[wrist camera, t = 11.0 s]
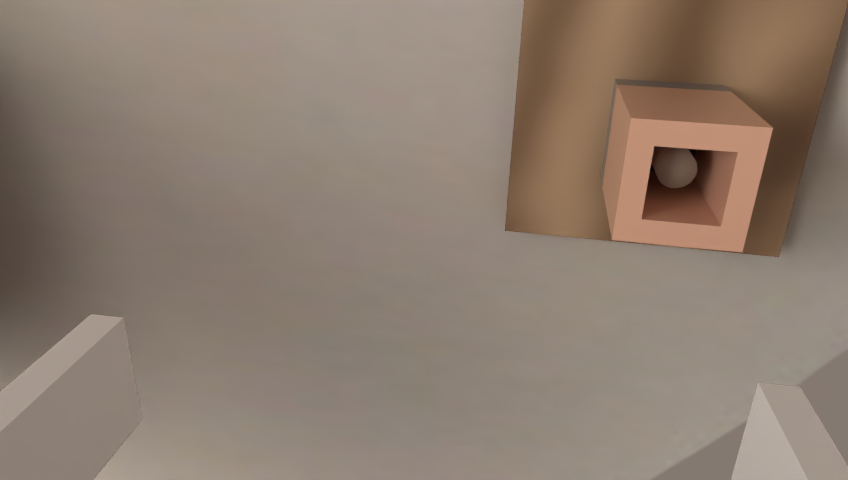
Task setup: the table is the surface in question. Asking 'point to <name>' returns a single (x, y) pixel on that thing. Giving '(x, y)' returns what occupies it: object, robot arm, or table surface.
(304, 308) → the table surface
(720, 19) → the pin board
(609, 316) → the table surface
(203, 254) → the table surface
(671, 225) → the terracotta sleeve
